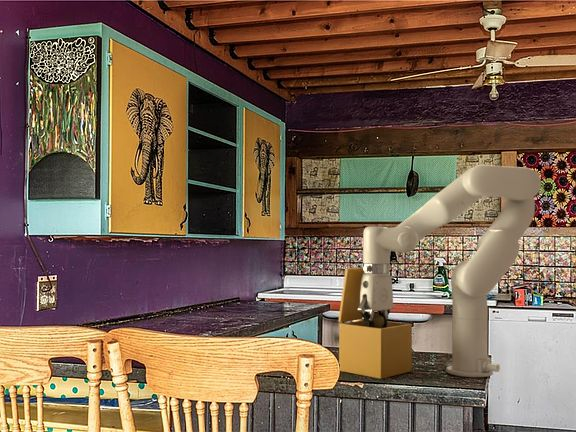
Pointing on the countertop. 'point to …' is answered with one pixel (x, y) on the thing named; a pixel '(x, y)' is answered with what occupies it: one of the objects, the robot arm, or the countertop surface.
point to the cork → (378, 321)
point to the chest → (375, 349)
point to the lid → (351, 295)
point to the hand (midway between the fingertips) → (375, 333)
